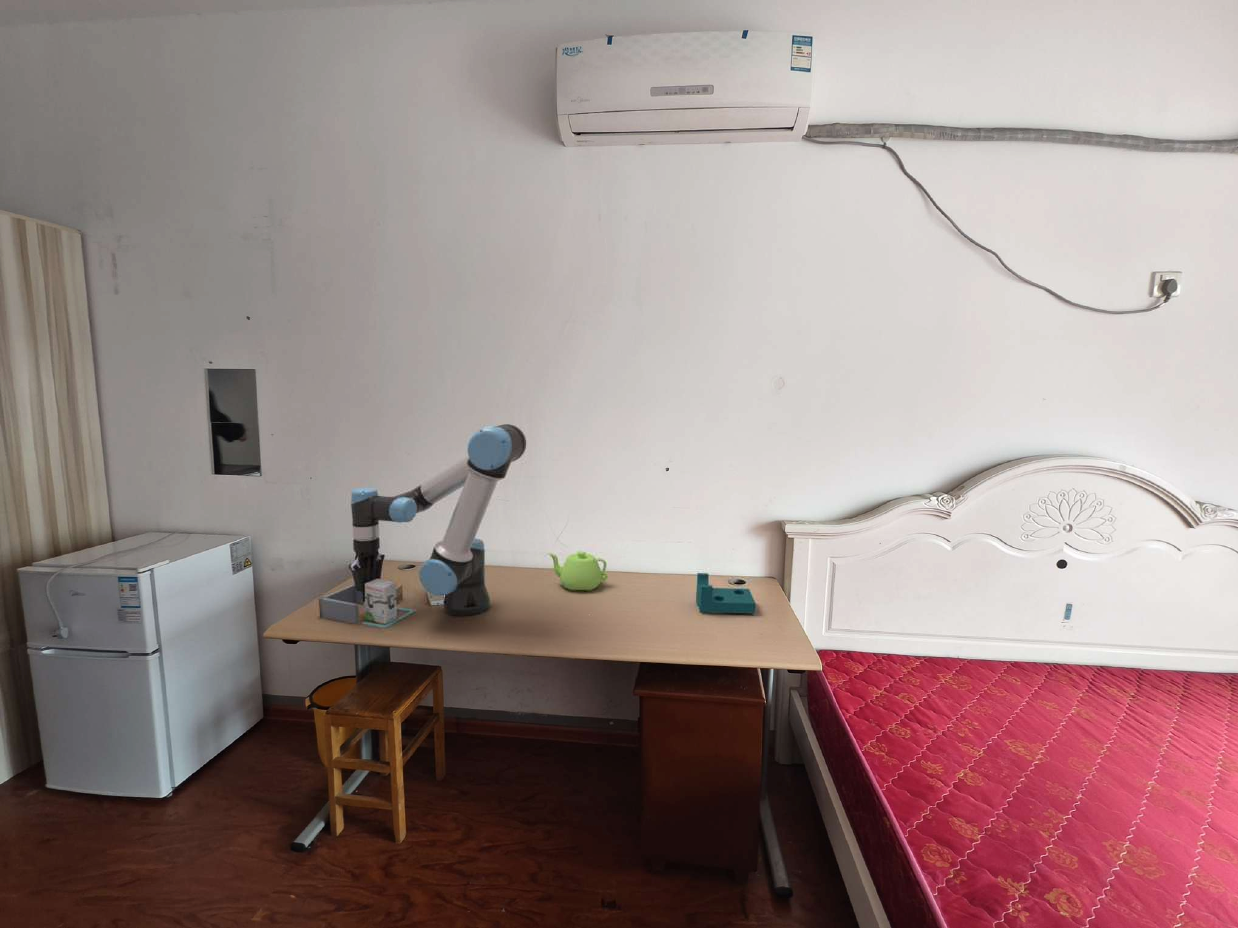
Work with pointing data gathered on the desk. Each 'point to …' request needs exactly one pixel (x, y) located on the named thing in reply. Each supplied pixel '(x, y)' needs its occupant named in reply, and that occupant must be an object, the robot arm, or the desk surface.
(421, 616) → the desk surface
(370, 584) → the ink box
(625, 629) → the desk surface
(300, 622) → the desk surface
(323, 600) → the cubby
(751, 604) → the teal l-shaped bracket
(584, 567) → the teapot
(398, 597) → the walnut block
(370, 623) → the frame
